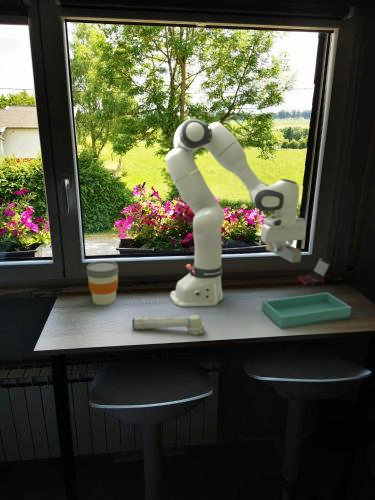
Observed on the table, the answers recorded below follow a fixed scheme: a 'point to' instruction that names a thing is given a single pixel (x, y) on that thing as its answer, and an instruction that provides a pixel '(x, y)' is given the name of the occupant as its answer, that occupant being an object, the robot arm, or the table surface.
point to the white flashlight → (170, 323)
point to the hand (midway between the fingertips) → (281, 250)
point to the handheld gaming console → (316, 273)
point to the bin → (305, 310)
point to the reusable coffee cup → (103, 281)
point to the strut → (286, 251)
